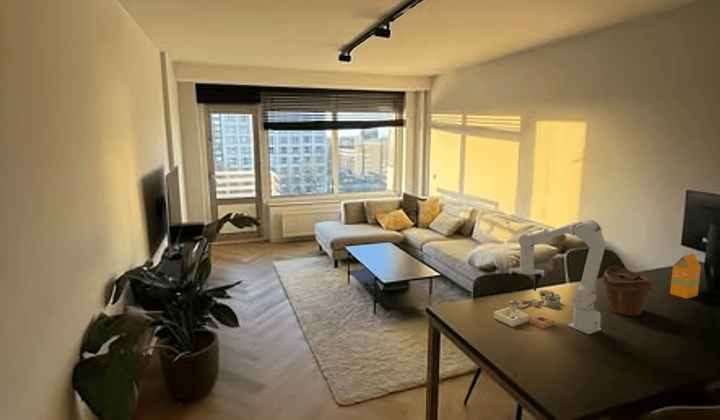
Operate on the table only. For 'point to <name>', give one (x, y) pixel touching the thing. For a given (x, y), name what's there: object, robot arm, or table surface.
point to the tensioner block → (541, 321)
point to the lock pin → (512, 308)
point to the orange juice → (686, 277)
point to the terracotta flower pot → (626, 290)
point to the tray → (504, 317)
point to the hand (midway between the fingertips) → (525, 289)
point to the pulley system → (548, 296)
